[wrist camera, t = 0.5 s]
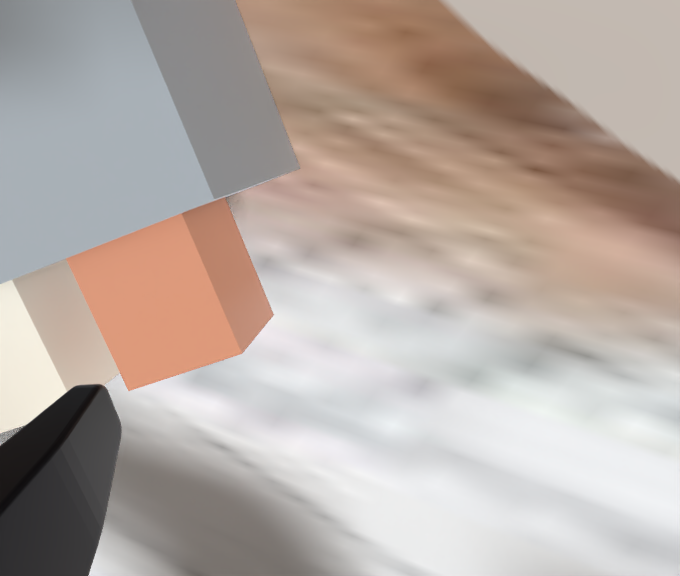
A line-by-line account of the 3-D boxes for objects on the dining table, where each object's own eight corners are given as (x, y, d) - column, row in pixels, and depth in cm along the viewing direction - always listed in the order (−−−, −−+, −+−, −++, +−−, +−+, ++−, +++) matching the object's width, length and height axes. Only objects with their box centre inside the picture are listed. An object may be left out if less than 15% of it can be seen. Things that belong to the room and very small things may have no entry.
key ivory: (131, 363, 24) (75, 408, 21) (45, 392, 25) (-25, 441, 21) (62, 215, 23) (-11, 234, 19) (-26, 251, 24) (-113, 276, 20)
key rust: (273, 314, 23) (242, 353, 19) (177, 347, 24) (128, 391, 20) (207, 156, 22) (160, 163, 18) (109, 196, 23) (43, 212, 19)
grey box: (300, 168, 26) (214, 199, 16) (15, 279, 29) (-211, 366, 19) (232, -7, 24) (90, -97, 14) (-59, 129, 27) (-345, 135, 17)
